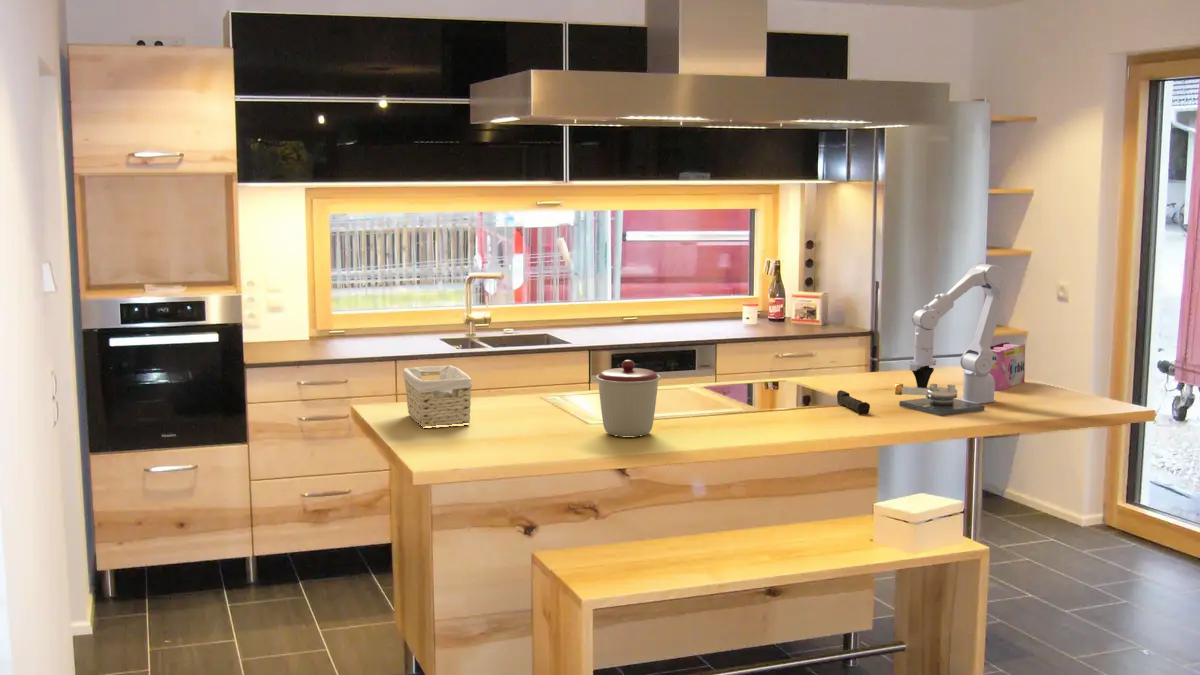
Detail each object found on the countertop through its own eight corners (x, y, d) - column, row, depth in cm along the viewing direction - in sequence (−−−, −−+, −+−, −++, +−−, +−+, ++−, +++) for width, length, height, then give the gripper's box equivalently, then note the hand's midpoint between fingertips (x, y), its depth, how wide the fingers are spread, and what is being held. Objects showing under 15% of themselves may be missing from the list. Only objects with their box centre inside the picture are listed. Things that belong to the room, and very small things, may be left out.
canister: (656, 442, 318) (656, 366, 315) (590, 440, 321) (590, 364, 318) (663, 428, 336) (664, 355, 333) (601, 426, 339) (601, 354, 336)
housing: (942, 400, 377) (942, 389, 376) (984, 410, 361) (984, 399, 360) (899, 405, 368) (899, 394, 368) (940, 416, 353) (941, 404, 352)
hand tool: (870, 415, 356) (870, 400, 355) (857, 415, 355) (858, 400, 354) (845, 403, 374) (846, 389, 373) (834, 403, 373) (834, 389, 373)
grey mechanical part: (957, 397, 367) (957, 384, 367) (956, 402, 359) (957, 389, 358) (895, 393, 373) (896, 381, 372) (894, 399, 364) (894, 386, 364)
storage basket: (474, 427, 338) (473, 376, 336) (418, 431, 333) (417, 380, 331) (455, 411, 360) (454, 364, 358) (402, 415, 355) (401, 367, 353)
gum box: (1004, 379, 416) (1006, 341, 414) (1026, 382, 410) (1028, 343, 409) (975, 388, 398) (977, 349, 396) (998, 391, 393) (999, 351, 391)
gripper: (922, 344, 377) (920, 385, 378) (901, 349, 366) (899, 391, 368) (942, 346, 372) (941, 388, 374) (922, 351, 361) (920, 394, 363)
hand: (922, 390), depth 370 cm, fingers closed
